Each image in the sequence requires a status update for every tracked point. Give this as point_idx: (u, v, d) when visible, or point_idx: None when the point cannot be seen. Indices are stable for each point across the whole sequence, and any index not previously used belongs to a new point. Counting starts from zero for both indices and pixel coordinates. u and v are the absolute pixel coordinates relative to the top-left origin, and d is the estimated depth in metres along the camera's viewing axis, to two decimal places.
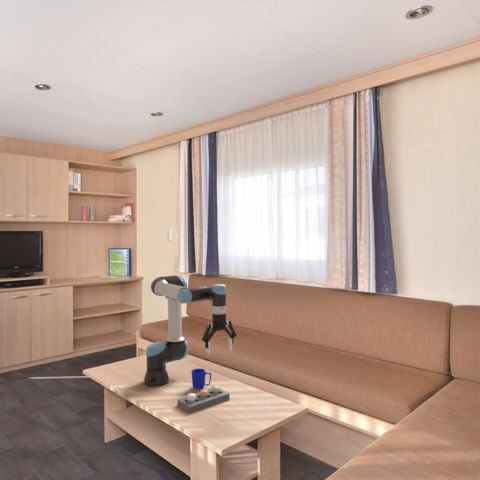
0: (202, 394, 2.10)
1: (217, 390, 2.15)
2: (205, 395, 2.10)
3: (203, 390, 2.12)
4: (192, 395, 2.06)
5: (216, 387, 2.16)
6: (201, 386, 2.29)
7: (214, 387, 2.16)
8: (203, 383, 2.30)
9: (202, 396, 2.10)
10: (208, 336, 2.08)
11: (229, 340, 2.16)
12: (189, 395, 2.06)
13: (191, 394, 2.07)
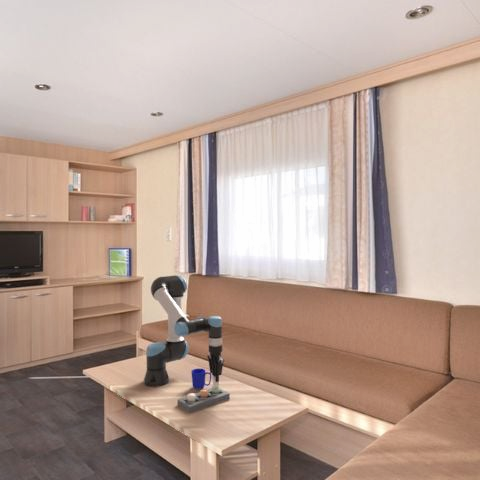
0: (202, 394, 2.10)
1: (217, 390, 2.15)
2: (205, 395, 2.10)
3: (203, 390, 2.12)
4: (192, 395, 2.06)
5: (216, 387, 2.17)
6: (201, 386, 2.29)
7: None
8: (203, 383, 2.30)
9: (202, 396, 2.10)
10: None
11: None
12: (189, 395, 2.06)
13: (191, 394, 2.07)
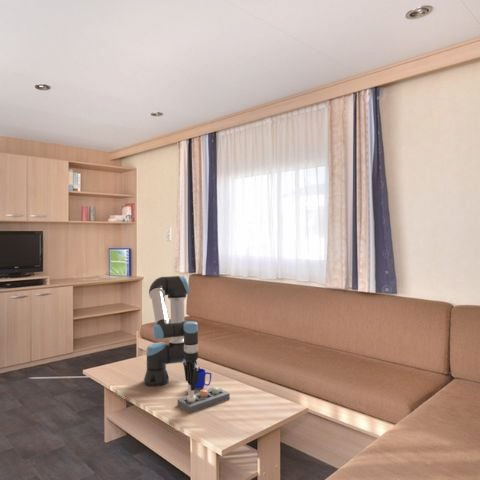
0: (202, 394, 2.10)
1: (217, 391, 2.15)
2: (205, 395, 2.10)
3: (203, 390, 2.12)
4: (192, 396, 2.06)
5: (216, 388, 2.17)
6: (201, 386, 2.29)
7: (214, 388, 2.17)
8: (203, 383, 2.30)
9: (202, 396, 2.10)
10: None
11: None
12: (189, 396, 2.06)
13: None
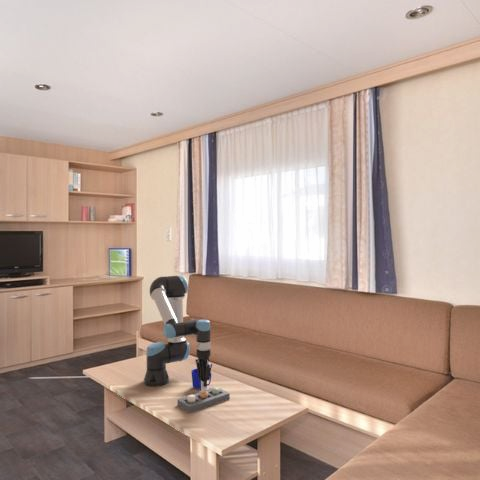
0: (202, 395, 2.10)
1: (217, 391, 2.15)
2: (205, 396, 2.10)
3: None
4: (192, 397, 2.06)
5: (216, 388, 2.17)
6: None
7: (214, 388, 2.17)
8: None
9: (202, 397, 2.10)
10: None
11: None
12: (189, 397, 2.06)
13: (191, 396, 2.07)
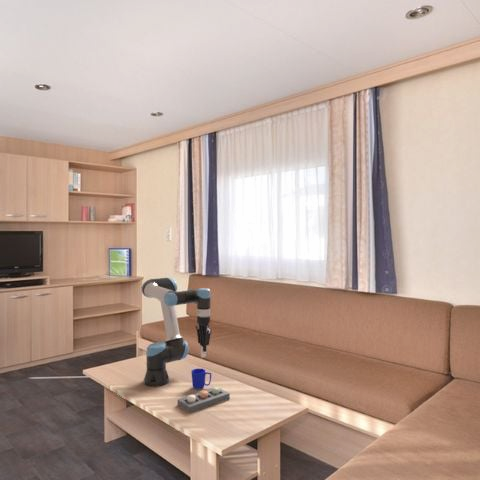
0: (202, 395, 2.10)
1: (217, 391, 2.15)
2: (205, 396, 2.10)
3: (203, 392, 2.12)
4: (192, 397, 2.06)
5: (216, 388, 2.17)
6: (201, 386, 2.29)
7: (214, 388, 2.17)
8: (203, 383, 2.30)
9: (202, 397, 2.10)
10: None
11: None
12: (189, 397, 2.06)
13: (191, 396, 2.07)
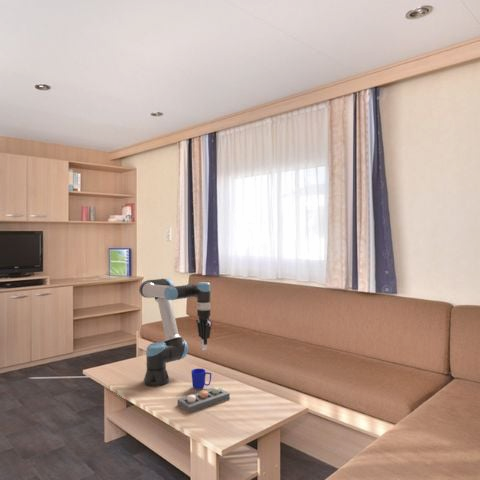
0: (202, 395, 2.10)
1: (217, 391, 2.15)
2: (205, 396, 2.10)
3: (203, 392, 2.12)
4: (192, 397, 2.06)
5: (216, 388, 2.17)
6: (201, 386, 2.29)
7: (214, 388, 2.17)
8: (203, 383, 2.30)
9: (202, 397, 2.10)
10: None
11: None
12: (189, 397, 2.06)
13: (191, 396, 2.07)
